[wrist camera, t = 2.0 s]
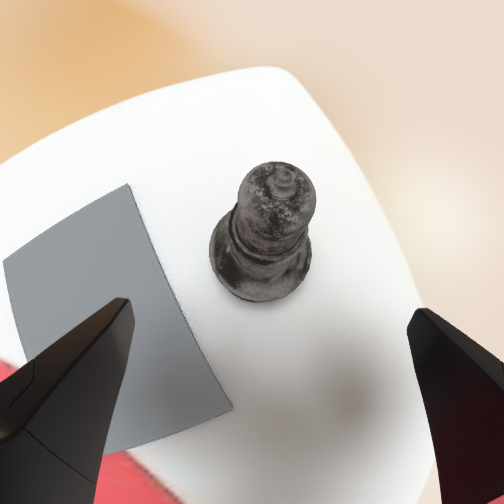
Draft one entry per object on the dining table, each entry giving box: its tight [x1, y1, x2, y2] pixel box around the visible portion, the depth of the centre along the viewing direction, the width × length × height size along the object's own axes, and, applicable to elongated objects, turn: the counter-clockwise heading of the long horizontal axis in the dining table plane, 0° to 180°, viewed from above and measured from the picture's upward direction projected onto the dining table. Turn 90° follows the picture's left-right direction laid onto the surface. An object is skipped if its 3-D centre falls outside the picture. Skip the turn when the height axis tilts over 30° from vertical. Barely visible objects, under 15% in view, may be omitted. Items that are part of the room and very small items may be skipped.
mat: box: [3, 183, 233, 456], centre depth 18 cm, size 18×14×1 cm
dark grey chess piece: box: [209, 162, 316, 302], centre depth 14 cm, size 6×6×12 cm
